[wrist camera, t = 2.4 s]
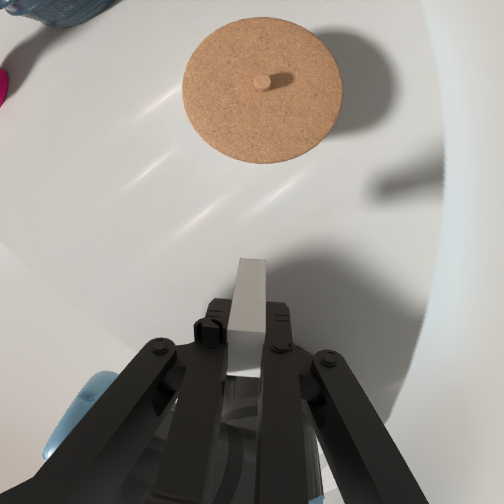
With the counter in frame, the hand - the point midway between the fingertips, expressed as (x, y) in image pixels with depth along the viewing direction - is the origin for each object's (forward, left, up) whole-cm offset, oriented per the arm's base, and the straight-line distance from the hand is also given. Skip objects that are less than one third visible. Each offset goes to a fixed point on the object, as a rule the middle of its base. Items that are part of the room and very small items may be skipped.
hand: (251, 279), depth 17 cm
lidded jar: (+12, 0, -12) cm, 17 cm away
